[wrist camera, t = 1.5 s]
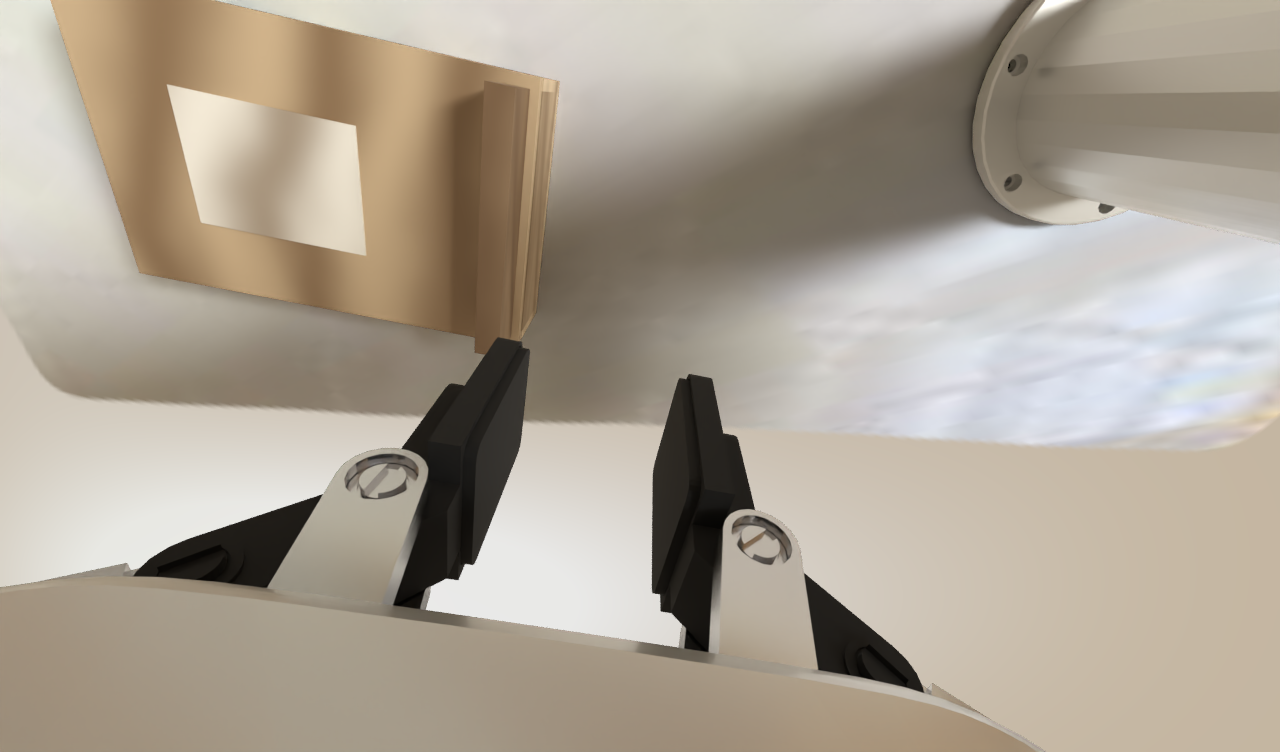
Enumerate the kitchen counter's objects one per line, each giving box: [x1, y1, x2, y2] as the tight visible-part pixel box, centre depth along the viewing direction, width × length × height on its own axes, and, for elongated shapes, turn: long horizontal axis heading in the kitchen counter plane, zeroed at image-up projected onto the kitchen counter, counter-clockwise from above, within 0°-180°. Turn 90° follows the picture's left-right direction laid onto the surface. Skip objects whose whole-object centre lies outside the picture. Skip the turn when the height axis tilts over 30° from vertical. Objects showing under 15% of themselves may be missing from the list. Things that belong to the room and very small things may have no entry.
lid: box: [51, 0, 543, 355], centre depth 22 cm, size 20×13×3 cm, turn 78°
